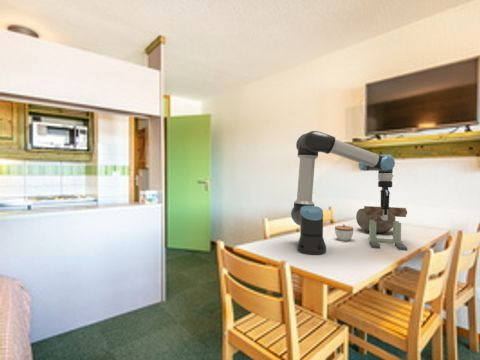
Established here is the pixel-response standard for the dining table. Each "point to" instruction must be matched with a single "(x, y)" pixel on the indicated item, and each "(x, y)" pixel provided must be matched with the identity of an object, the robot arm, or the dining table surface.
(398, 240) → the rack
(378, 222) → the bowl
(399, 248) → the rests
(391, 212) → the rail
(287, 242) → the dining table surface
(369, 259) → the dining table surface
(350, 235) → the lidded jar
